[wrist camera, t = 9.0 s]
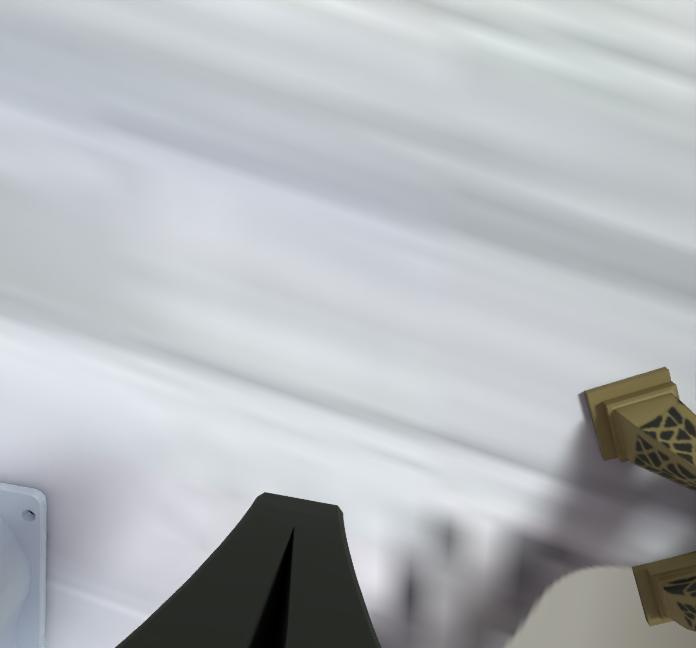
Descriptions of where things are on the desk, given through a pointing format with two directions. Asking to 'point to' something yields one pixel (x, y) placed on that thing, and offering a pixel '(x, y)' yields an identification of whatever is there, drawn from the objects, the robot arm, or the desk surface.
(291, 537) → the robot arm
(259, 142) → the desk surface
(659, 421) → the eiffel tower
